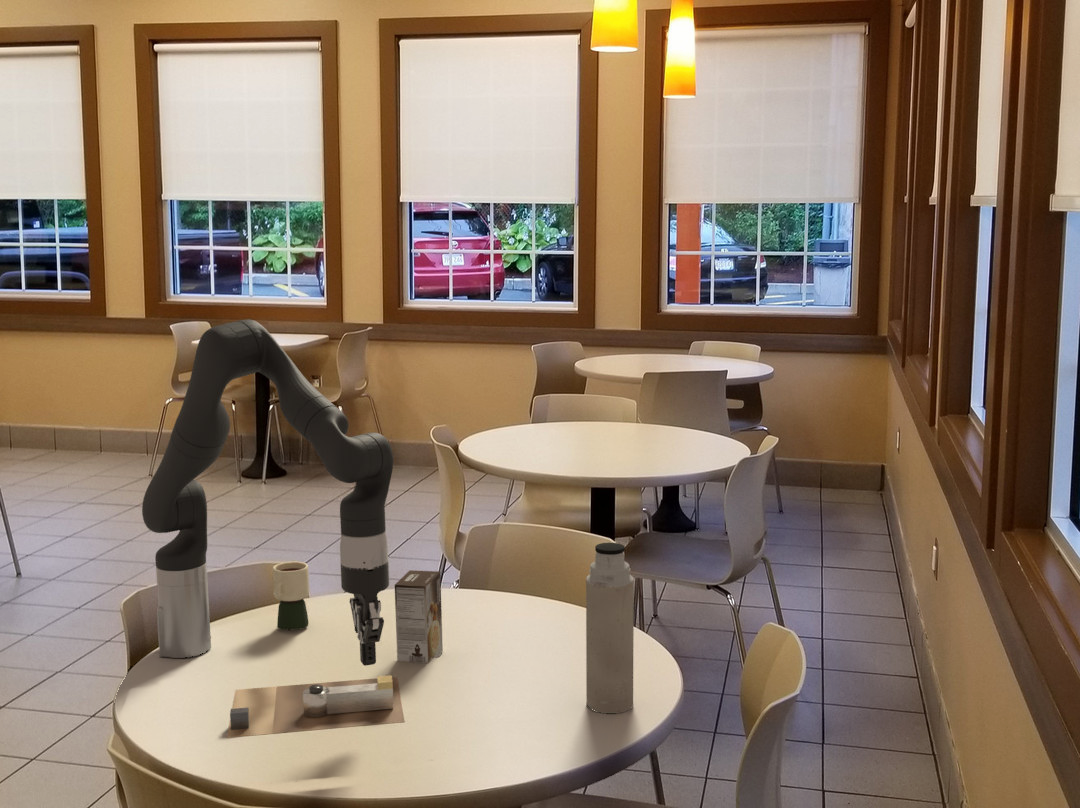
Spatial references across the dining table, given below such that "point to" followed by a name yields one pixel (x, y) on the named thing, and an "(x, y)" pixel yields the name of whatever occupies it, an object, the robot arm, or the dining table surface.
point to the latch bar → (348, 698)
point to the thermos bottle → (609, 631)
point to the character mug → (291, 594)
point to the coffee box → (418, 616)
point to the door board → (285, 711)
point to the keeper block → (239, 718)
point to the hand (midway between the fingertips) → (368, 663)
